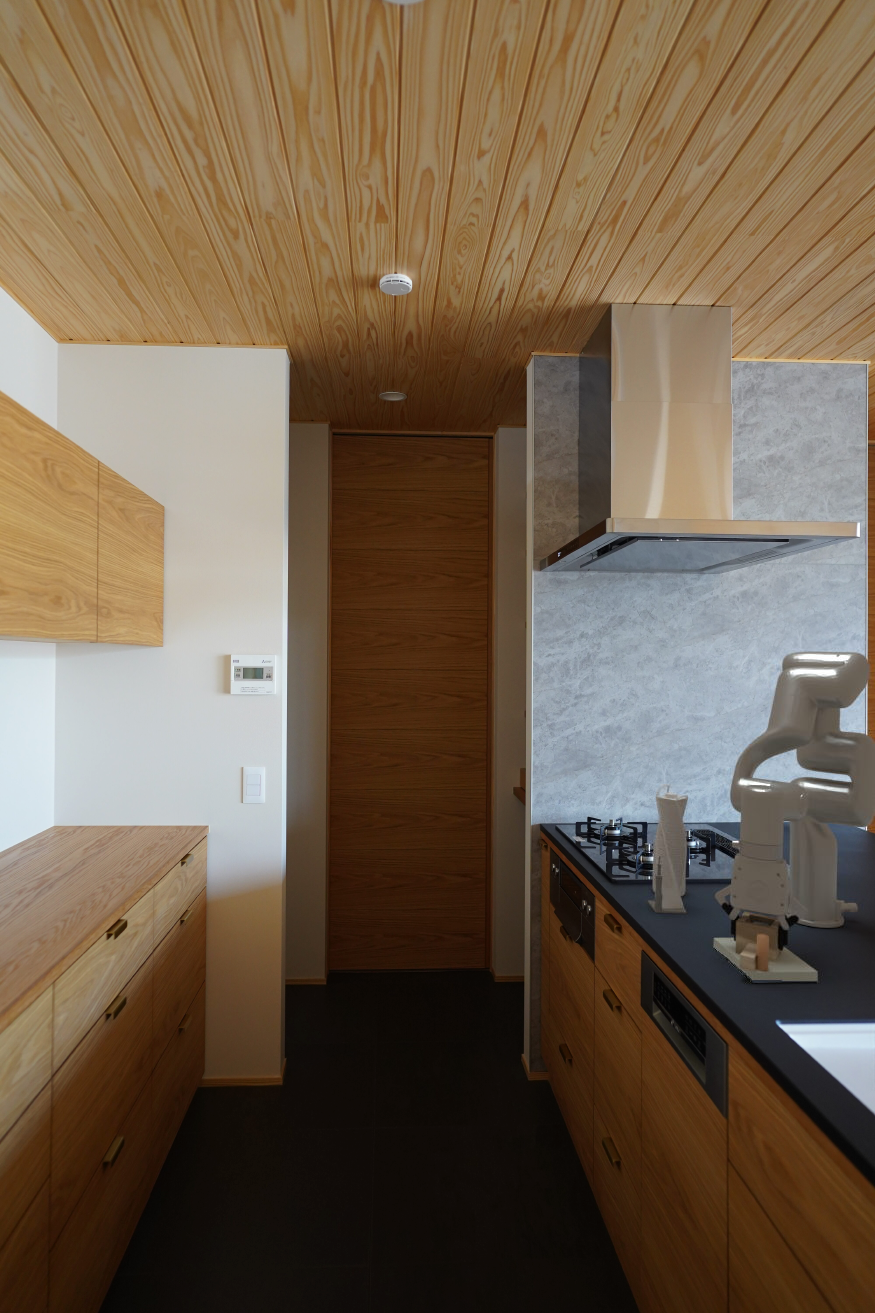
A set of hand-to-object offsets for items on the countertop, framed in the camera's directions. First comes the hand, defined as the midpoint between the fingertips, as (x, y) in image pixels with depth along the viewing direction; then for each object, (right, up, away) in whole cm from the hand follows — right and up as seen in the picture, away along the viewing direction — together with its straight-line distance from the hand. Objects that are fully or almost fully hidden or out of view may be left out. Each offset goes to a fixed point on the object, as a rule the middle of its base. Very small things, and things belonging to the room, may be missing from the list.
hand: (758, 943), depth 140 cm
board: (0, -4, -1) cm, 4 cm away
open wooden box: (-2, -2, -2) cm, 4 cm away
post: (0, -2, 0) cm, 2 cm away
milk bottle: (-4, -4, +41) cm, 42 cm away
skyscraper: (-8, -4, +31) cm, 32 cm away
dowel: (-3, -2, -8) cm, 8 cm away
